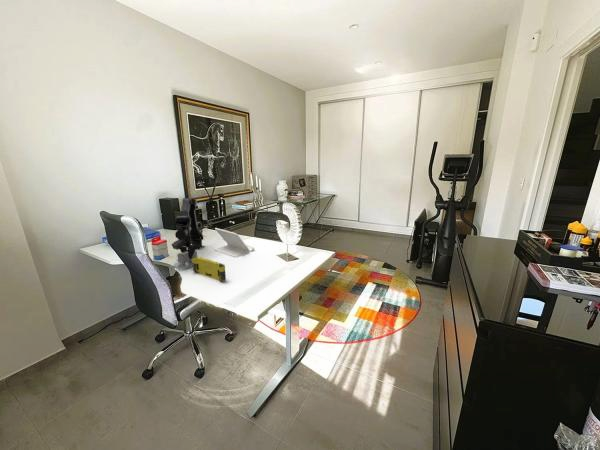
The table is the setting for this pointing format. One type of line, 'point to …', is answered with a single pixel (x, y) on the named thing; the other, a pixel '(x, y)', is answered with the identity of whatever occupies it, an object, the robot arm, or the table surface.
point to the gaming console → (209, 268)
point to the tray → (182, 265)
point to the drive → (185, 257)
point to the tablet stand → (233, 244)
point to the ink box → (159, 248)
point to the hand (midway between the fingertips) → (187, 258)
